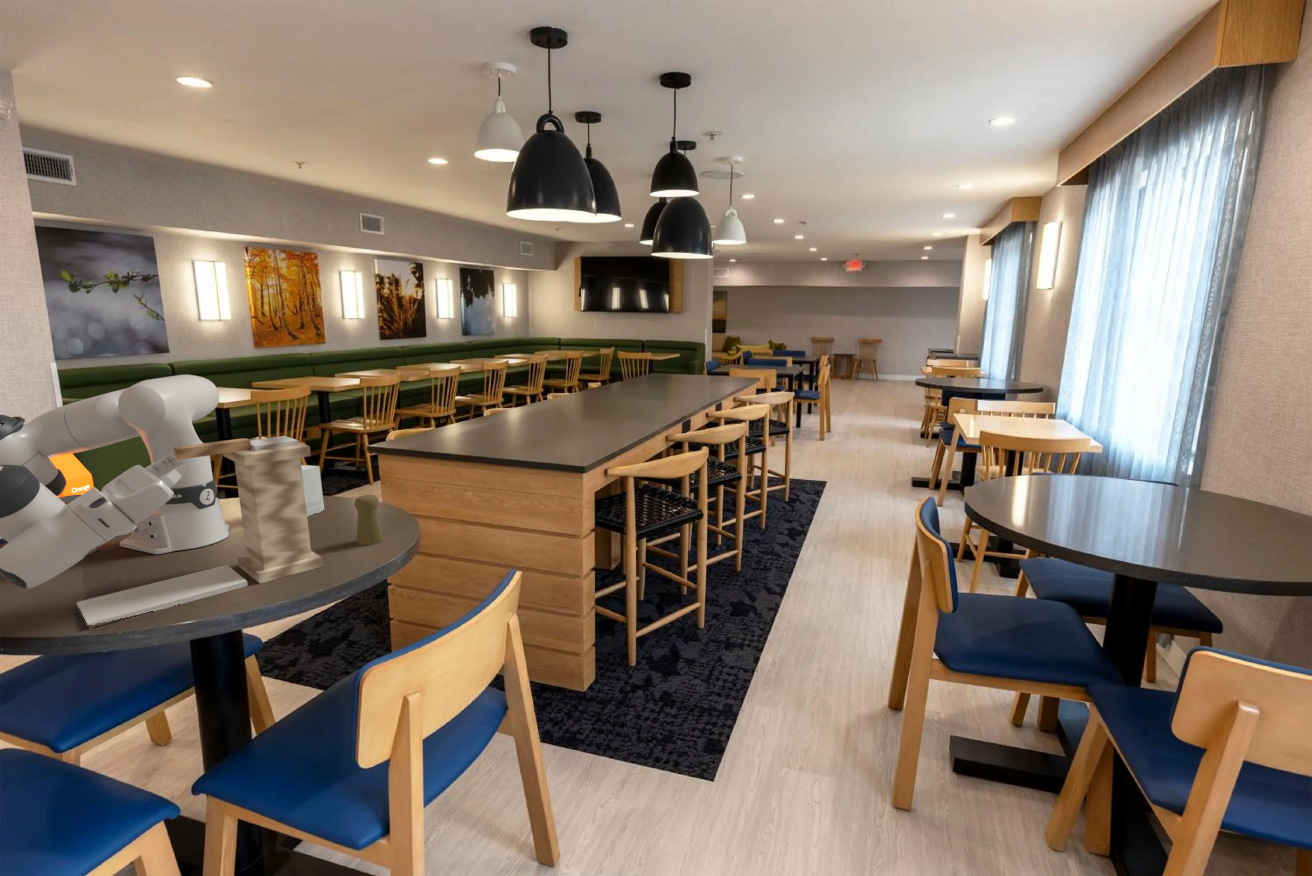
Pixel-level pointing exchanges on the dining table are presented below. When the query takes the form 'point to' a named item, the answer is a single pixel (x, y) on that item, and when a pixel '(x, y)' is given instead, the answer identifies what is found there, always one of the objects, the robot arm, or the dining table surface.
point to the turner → (233, 446)
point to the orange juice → (73, 475)
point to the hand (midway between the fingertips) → (180, 462)
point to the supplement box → (312, 489)
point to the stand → (274, 512)
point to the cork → (368, 521)
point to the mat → (160, 595)
